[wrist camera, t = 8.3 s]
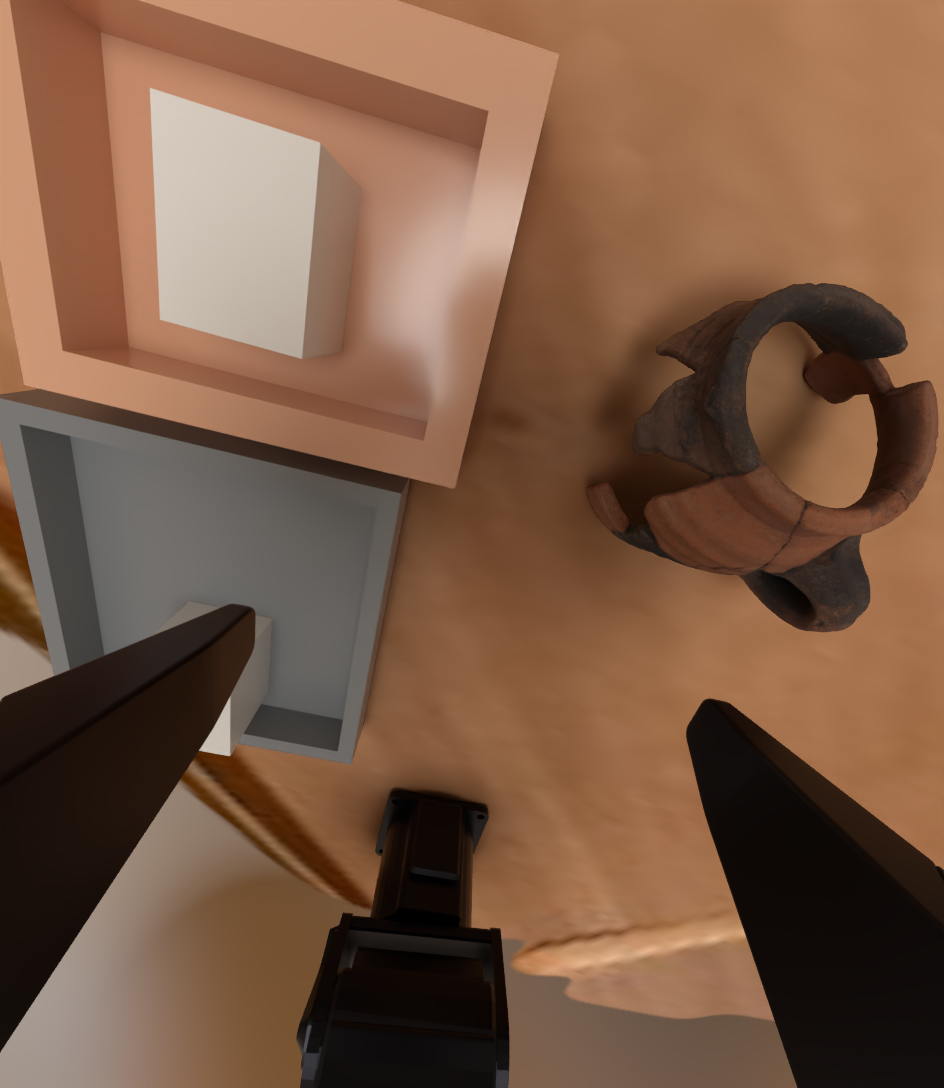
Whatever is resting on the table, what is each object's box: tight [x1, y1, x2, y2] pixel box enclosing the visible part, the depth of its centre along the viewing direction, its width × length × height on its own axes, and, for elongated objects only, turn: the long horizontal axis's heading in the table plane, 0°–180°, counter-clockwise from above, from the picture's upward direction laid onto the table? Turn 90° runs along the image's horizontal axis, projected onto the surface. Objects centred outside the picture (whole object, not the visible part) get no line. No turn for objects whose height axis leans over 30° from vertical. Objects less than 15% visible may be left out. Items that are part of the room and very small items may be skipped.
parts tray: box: [0, 389, 410, 764], centre depth 21 cm, size 16×15×3 cm
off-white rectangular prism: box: [152, 601, 272, 756], centre depth 21 cm, size 5×4×4 cm
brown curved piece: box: [587, 283, 938, 632], centre depth 16 cm, size 12×10×8 cm
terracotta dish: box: [0, 0, 559, 489], centre depth 14 cm, size 11×14×4 cm
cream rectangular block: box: [150, 88, 362, 359], centre depth 13 cm, size 5×4×4 cm
